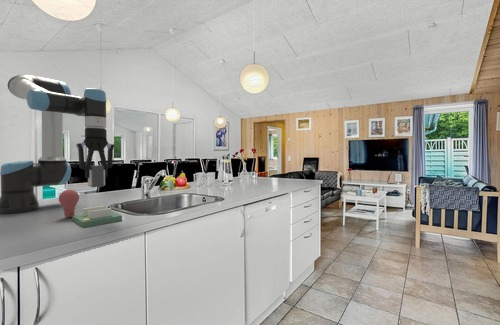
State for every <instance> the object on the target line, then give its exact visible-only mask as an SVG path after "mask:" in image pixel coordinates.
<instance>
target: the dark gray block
mask: <svg viewBox="0 0 500 325" xmlns="http://www.w3.org/2000/svg"><path fill="white" fill-rule="evenodd" d="M89 170H92V187H91V188H101V187H104V186H105V185H104V166H102V164H101V165H99V164H98V165H97V164H96V165H91V166H90V169H89Z"/></svg>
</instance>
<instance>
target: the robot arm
mask: <svg viewBox="0 0 500 325" xmlns="http://www.w3.org/2000/svg"><path fill="white" fill-rule="evenodd" d="M7 89H8V91H9V92H10V93H11V94H12V95H13V96H14V97H16V98H19V99H21V100H26V103H27V105H28V108H29V109H31V110H35V111H36V110H37V111H40V112H41V157H39V158H38V160H37V162H34V161H33V160H24V161H23V160H21V161H19V160H18V161H12V162H6V163H3V164H2V165H1V167H0V214H17V213H18V214H19V213H25V212H26V213H27V212H31V211H34V210H35V211H37V210H38V209H39V208H40V203H39V201H38V198H37V196H36V194H35V187H47V186H48V187H49V186H58V185H59V186H61V185H65V184H66V183H68V181H70V178H71V174H72V168H71V167H72V166H71V164H70V162H67V159H66V158H65V157H64V155H63V151H64V150H63V149H64V148H63V144H64V143H63V141H64V139H63V138H64V136H63V135H64V133H63V131H64V130H63V129H64V128H63V125H64V124H63V123H64V122H63V121H64V120H63V118H64V117H63V116H64V115H63V114H66V115H67V114H69V115H75V116H77V117H84V127H85V128H84V140H83V141H82V142H78V143H76V144H75V146H76V148H77V152H78V166H79V168H80V169H82V170H84V177H85V179H87V186H88V187H90V188H93V187H92V170H89V169H90V166H92V160H93V157H94V156H93V155H94V154H95V153H94V152H96V151H97V152H98V154H99V158H100V163H101V165H102V166H104V186H106V178H108V170H109V169H112V168H113V161H114V160H113V159H114V158H113V157H114V148H115V144H114V143H113V144H111V143H110V142H109V141H108V140H107V139H108V138H107V136H108V135H107V129H106V128H107V95H106V94H107V93H106V91H104V90H102V89H100V88H93V87H89V88H88V87H87V88H85V89H84V90H83V91H84V93H83V96H76V95H72V93H71V89H70V87H69V86H68V84H67V83H66V82H64V81H61V80H58V79H51V78H48V77H47V78H46V77H42V76H36V75H32V74H17V75H14V76H12V77H11V78H10V79H9V80H8V82H7ZM85 146H86V148H87V156H86V160H85V152H84V148H85ZM105 148H107V157H106V154H105ZM106 158H107V159H106Z"/></svg>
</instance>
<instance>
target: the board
mask: <svg viewBox="0 0 500 325" xmlns="http://www.w3.org/2000/svg"><path fill="white" fill-rule="evenodd" d="M82 212H83V213H82V214H76V215H75V214H74V216H72V221H73V222H74V223H75V224H77V225H79V227H81V228H87V227H93V226H100V225H104V224H105V225H106V224H110V223H116V222H122V221H123V216H122V215H121V214H120V213H118V212H115V211H112V208H111V207H109V208H108V207H107V208H106V205H100V206H90V207H84V208H82Z"/></svg>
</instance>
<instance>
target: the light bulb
mask: <svg viewBox="0 0 500 325" xmlns="http://www.w3.org/2000/svg"><path fill="white" fill-rule="evenodd" d="M79 200H80V195H79V193H78V192H77V191H76V190H74V189H65V190H64V191H62V192H60V193H59V196H58V201H59V203H60V205H61V206H62V208H63V213H64V215H63V216H64V218H73V216H74V215H75V214H76V211H75V210H76V206H77V205H78V202H79Z"/></svg>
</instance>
